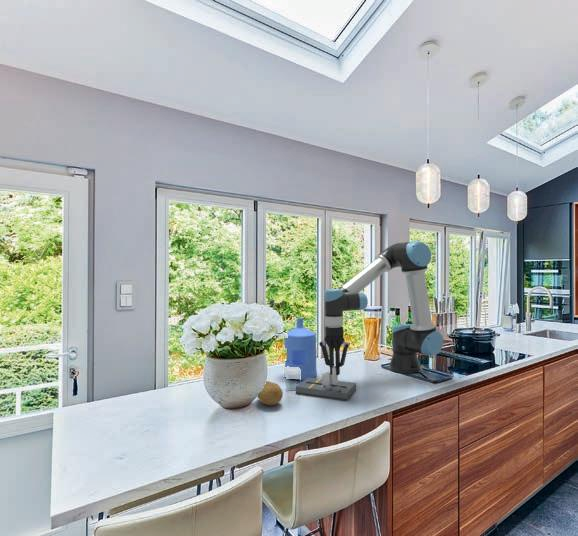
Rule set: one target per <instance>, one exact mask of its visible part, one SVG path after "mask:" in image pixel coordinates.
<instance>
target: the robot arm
mask: <svg viewBox="0 0 578 536" xmlns="http://www.w3.org/2000/svg"><path fill="white" fill-rule="evenodd" d="M431 260H432V252H431V249H430V247H429V246H428V244H426V243H425V242H423V241H419V240H418V241H415V240H414V241H413V240H412V241H407V242H406V241H405V242H398V243H396V242H395V243H393V244H392V245H389V246H388V247H386V248H384V250H382V251H381V252H379V254H377V255H376V256H375V258H374V260H373V261H372V262H370V263H369V264H368V265H367V266H365V267H364V268H363V269H361V270H360V271H359V272H357V274H355V275H354V276H353V277H352V278H350V279H348V281H346V282H345V283H344V284H342V285H341V286H340V287H338V288H337V289H336V288H330V289H329V288H328V289H326V290H325V291H324V299H323V301H324V325H325V327H324V335H325V336H324V340H322V341H320V342H319V343H318V345H319V346H320V347H321V351H322V355H323V359H324V363H325V365H326V366H329V371H330V374H331V375H332V383H335V384H336V383H337V382H338V381H339V379H338V378H339V375H341V374H340V373H341V370H340V369H341V367H343V366H344V365H345V361H346V358H347V352H348V349H349V347H350V345H351V344H350V343H349V342H347V341H345V338H344V327H343V326H344V312H349V311H352V312H353V311H363V310H365V309H367V307H368V304H369V301H368V297H367V295H366V294H365V292H362V291H363V290H365V289H366V288H367V287H368V286H369V285H371V284H372V283H373V282H374V281H375V280H377V279H378V278H379V277H380V276H381V275H383V274H384V273H388V272H390V271H392V270H393V269H395V268H398V267H399V268H400V270H401V273H403V275H405V279H406V280H405V281H406V286H407V294H408V300H409V301H408V302H409V307H410V314H411V320H412V323H404V324H395V325H393V326H392V330H391V331H392V332H391V336H392V337H391V338H392V355H391V358H390V361H389V370H390V371H392V372H395V373H400V374H417V373H416V372H418V373H420V372H421V371H422V369H421V368H422V366H421V363H420V361H419V357H418V354H421V355H423V356H429V357H433V356H436V355H438V354H439V353H440V352H441V350H442V349H443V346H444V336H443V335H442V333H440V332H439V331H437V325H436V324H435V323H434V322H432V313H431V309H430V308H431V305H430V300H429V294H428V287H427V281H426V280H427V279H426V271H427V270H428V265H429V264H430V263H431ZM326 345H327V346H328V349H327V346H326ZM341 347H343V348H342V352H341ZM340 354H341V355H340ZM420 370H421V371H420ZM419 371H420V372H419Z"/></svg>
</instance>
